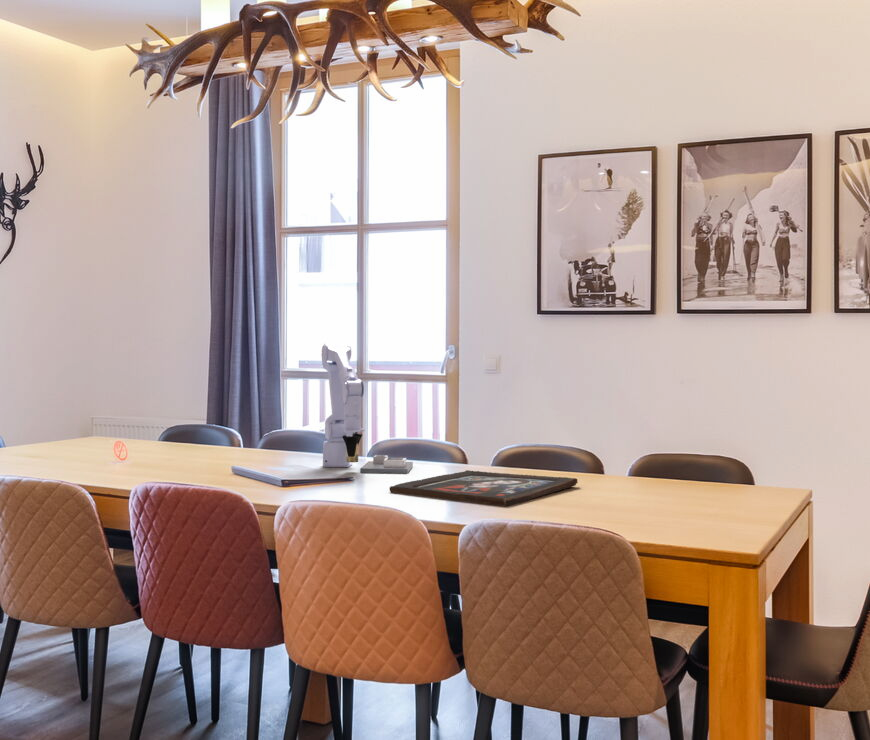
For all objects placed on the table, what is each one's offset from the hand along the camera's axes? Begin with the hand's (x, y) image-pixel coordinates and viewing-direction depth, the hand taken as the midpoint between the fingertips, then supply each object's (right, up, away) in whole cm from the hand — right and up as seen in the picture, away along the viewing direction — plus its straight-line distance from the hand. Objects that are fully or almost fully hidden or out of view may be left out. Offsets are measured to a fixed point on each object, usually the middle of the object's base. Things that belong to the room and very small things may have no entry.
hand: (352, 455), depth 296 cm
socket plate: (+12, -5, +7) cm, 15 cm away
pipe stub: (0, -2, 0) cm, 2 cm away
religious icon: (+43, -7, -37) cm, 57 cm away
